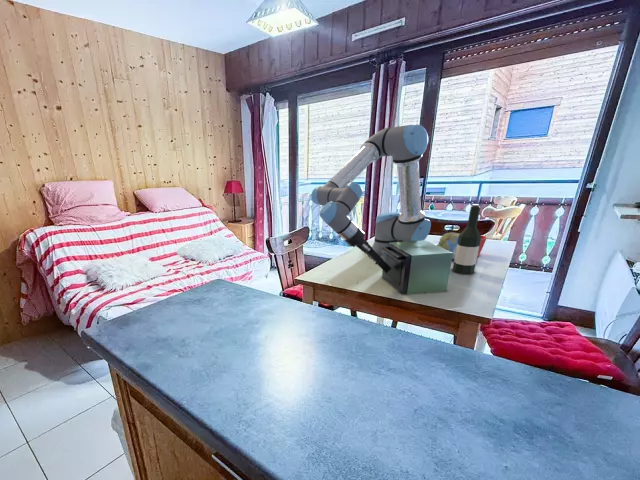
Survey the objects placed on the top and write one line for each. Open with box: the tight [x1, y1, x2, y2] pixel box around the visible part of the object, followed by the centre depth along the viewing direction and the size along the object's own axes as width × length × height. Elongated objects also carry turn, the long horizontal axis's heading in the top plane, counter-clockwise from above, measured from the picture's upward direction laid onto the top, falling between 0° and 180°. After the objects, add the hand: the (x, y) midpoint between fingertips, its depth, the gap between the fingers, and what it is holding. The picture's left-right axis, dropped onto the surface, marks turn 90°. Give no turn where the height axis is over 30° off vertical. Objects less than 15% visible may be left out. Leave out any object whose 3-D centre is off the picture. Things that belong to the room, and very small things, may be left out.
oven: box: [389, 239, 453, 295], centre depth 136 cm, size 16×20×16 cm
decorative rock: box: [436, 232, 460, 260], centre depth 165 cm, size 14×16×15 cm
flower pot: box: [477, 234, 487, 257], centre depth 169 cm, size 11×11×10 cm
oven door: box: [381, 243, 410, 295], centre depth 136 cm, size 4×20×16 cm, turn 3°
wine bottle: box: [452, 203, 482, 275], centre depth 143 cm, size 8×8×30 cm
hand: (388, 270), depth 136 cm, fingers closed
